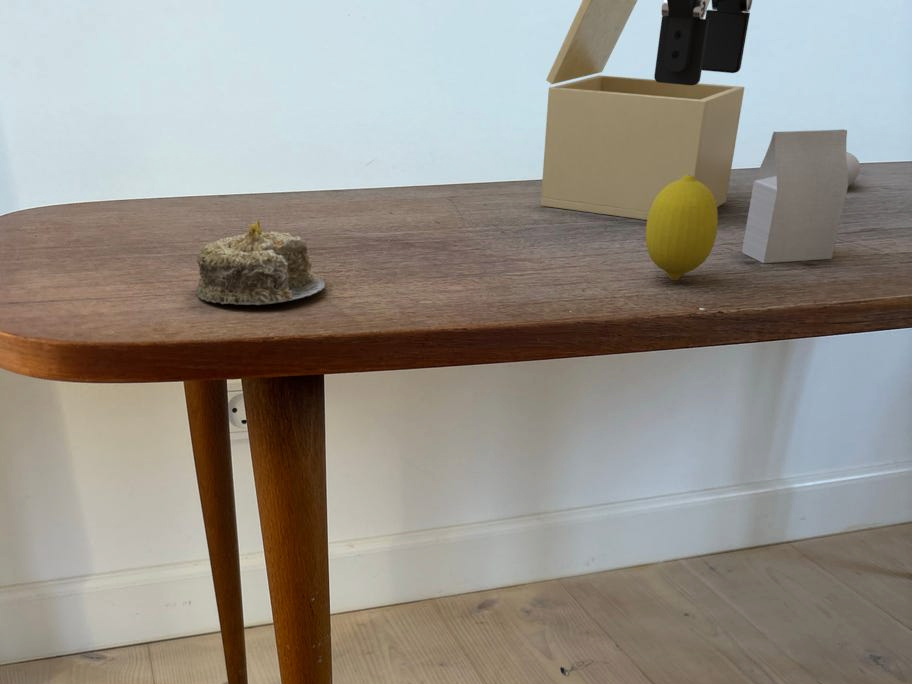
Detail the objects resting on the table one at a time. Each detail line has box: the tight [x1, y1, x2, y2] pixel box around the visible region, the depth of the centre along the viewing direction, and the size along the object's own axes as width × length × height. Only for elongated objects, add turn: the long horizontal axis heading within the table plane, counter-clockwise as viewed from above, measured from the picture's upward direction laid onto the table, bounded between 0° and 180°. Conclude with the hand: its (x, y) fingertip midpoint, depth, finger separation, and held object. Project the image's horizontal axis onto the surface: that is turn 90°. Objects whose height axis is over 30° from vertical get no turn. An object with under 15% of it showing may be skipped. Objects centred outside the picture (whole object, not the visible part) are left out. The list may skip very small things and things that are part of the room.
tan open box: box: [540, 74, 745, 221], centre depth 106 cm, size 16×13×11 cm
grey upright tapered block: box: [741, 128, 849, 264], centre depth 90 cm, size 4×7×10 cm, turn 106°
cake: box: [195, 220, 326, 306], centre depth 80 cm, size 10×10×5 cm
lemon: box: [645, 175, 719, 281], centre depth 84 cm, size 6×6×8 cm
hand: (698, 77), depth 78 cm, fingers open, 9 cm apart
